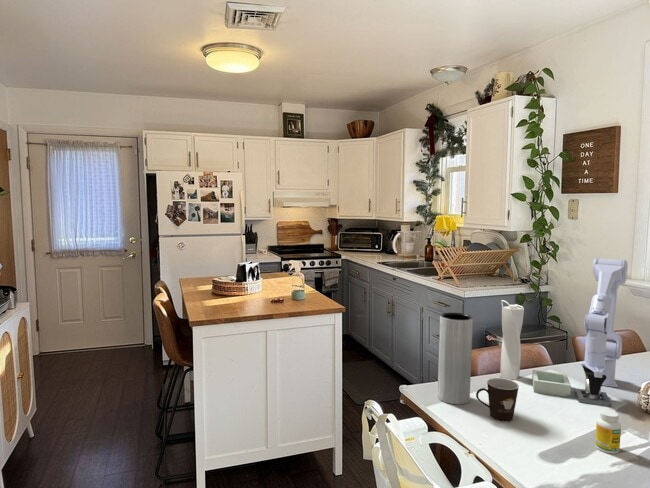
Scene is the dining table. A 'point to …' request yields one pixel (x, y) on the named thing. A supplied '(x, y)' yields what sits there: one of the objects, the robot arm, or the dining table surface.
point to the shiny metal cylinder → (587, 391)
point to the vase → (455, 358)
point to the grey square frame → (603, 402)
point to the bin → (551, 383)
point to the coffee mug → (501, 398)
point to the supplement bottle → (608, 432)
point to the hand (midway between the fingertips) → (592, 391)
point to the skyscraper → (511, 341)
